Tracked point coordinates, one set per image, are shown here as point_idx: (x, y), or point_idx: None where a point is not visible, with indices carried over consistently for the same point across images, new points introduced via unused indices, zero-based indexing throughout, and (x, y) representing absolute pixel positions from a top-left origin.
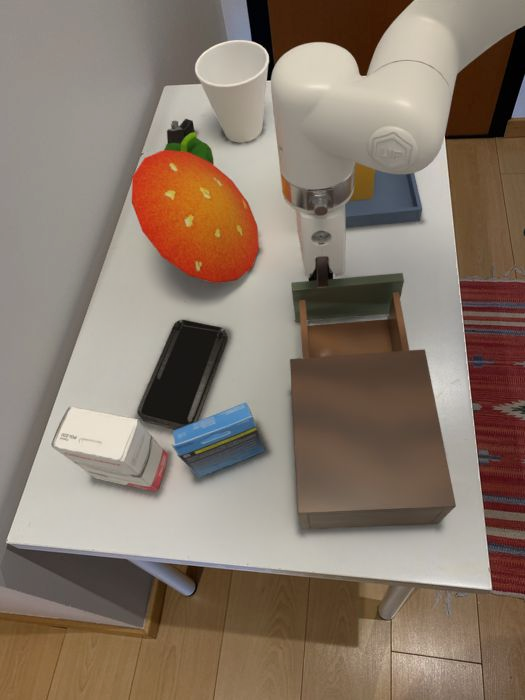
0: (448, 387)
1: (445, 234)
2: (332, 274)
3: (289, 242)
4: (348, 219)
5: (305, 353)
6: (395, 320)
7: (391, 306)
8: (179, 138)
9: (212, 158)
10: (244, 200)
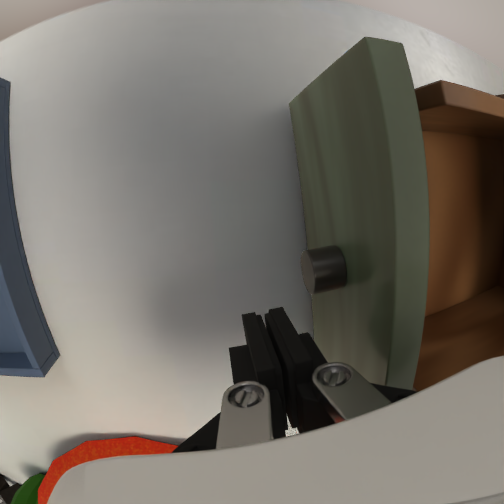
0: (435, 51)
1: (52, 22)
2: (300, 339)
3: (96, 385)
4: (7, 262)
5: None
6: (485, 119)
7: (424, 115)
8: (11, 498)
9: (20, 501)
10: (58, 475)
